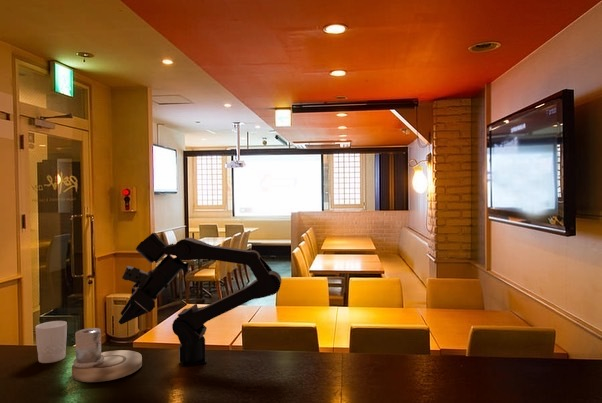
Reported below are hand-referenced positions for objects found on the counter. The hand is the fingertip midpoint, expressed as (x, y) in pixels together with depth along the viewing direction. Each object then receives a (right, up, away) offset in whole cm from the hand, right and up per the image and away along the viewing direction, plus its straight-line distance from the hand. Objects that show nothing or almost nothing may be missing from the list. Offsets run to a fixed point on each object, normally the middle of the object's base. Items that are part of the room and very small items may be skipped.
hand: (120, 318), depth 117 cm
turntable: (-3, -13, -1) cm, 14 cm away
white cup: (-23, -14, +9) cm, 29 cm away
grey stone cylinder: (-7, -11, -3) cm, 13 cm away
